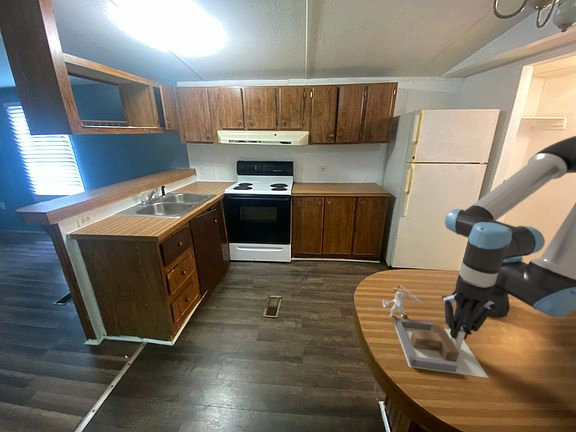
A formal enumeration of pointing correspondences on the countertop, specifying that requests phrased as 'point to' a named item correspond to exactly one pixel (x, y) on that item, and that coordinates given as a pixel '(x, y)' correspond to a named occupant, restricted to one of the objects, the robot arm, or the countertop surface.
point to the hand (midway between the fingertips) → (454, 345)
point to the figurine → (396, 304)
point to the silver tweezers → (407, 295)
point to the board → (435, 352)
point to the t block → (435, 342)
